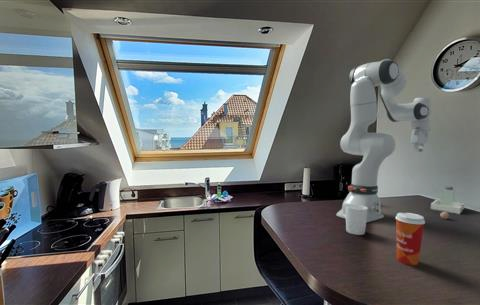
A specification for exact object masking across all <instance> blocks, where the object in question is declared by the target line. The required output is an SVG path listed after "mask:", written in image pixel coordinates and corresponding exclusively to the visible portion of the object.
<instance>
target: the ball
mask: <svg viewBox="0 0 480 305" xmlns="http://www.w3.org/2000/svg"><path fill="white" fill-rule="evenodd" d="M449 214H450V213H449V212H444V211H441V213H440V218H442V219H443V220H447V219H449V217H450V215H449Z"/></svg>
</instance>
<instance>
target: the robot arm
mask: <svg viewBox="0 0 480 305" xmlns="http://www.w3.org/2000/svg"><path fill="white" fill-rule="evenodd" d="M348 80H349V83H350V92H349V93H350V95H349V97H350V100H349V103H350V104H349V105H350V125H349V128H348V129H347V132H345V134H343V136H342V137H341V139H340V143H339V145H340V149H341V150H342V151H343V152H344V153H346V154H350V155H354V156H363V157H362V160H361V161H360V162H359V163H357V164H355V165H354V166H353V167H352V169H351V170H352V171H351V183H350V185H348V187H347V190H348V191H349V193H348V194H347V195H346V197H345V198H344V200H343V202H342V206H341V209H340V210H339V211H337V213H336V216H337V217H339V218H341V219H345V220H346V205H348V204H357V205H362V206H365V207H367V208H368V211H367V220H366V223H370V222H373V221H376V220H380V219H381V220H382V219H383V218H384V214H382V213H381V198H380V197H379V196H378V190H379V186H378V177H379V171H380V170H379V169H380V167H381V165H382V163H383V162H384V160H385V159H387V158H388V157H389V156H391V155H393V153H394V151H396V150H395V149H396V141H395V138H394V136H393V135H391V134H387V133H383V132H368V129H369V126H370V125H372V124H373V123H375V122H376V121H377V118H378V105H377V104H378V103H377V95H376V87H380V89H379V97H380V100H381V102H382V105H383V106H384V109H385V111H386V116H387V118H388V119H389V121H390V122H392V123H393V122H394V123H396V122H411V123H410V131H412V132H411V139H410V142H411V145H412V144H413V150H414V153H419V152H420V153H421V152H423V151H424V147H425V144H427V143H428V139H429V134H430V133H429V132H430V131H431V120H430V116H431V115H432V114H431V113H432V107H431V106H432V103H431V100H430V98H428V97H422V96H421V97H415V98H414V99H413V102H409V103H397V102H395V100H394V97H395V96H398V95H400V93H402V92H403V91H404V90H405V88H406V86H407V82H408V81H407V77H406V75H405V73H404V72H403V71H402V69H401V68H400V67H399V65H398V63H397V62H395V61H394V60H392V59H389V58H388V59H386V58H385V59H382V60H380V61H374V62H373V61H372V62H367V63H364V64H362V65H357V66H355V67H353V68H352V69H351V70H350V72H349V76H348Z"/></svg>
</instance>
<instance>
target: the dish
mask: <svg viewBox="0 0 480 305" xmlns="http://www.w3.org/2000/svg"><path fill="white" fill-rule="evenodd" d="M441 203H442V199H439V198H438V199H437V198H436V199H435V200H434V201H433V202H431V203H430V210H433V211H439V212H447V213H449V214H451V213H452V214H456V215H461V214H460V213H462V212H463V211H464V209H465V203H464V202H463V203H462V202H458V201H457V202H456V201H454V205H453V207H452V206H446V205H441Z"/></svg>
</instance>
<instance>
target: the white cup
mask: <svg viewBox="0 0 480 305" xmlns="http://www.w3.org/2000/svg"><path fill="white" fill-rule="evenodd" d="M367 211H368V208H367V207H365V206H362V205H357V204H348V205H346V219H345V231H346V232H347V233H349V234H352V235H354V236H355V235H356V236H362V235H365V233H366V227H367V222H366V220H367Z"/></svg>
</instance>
